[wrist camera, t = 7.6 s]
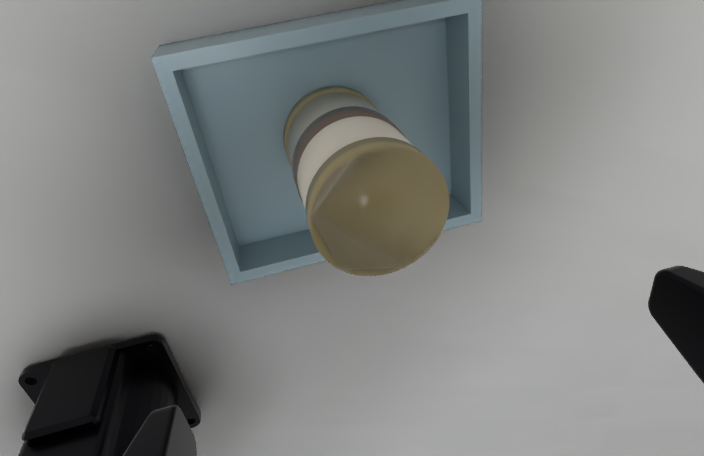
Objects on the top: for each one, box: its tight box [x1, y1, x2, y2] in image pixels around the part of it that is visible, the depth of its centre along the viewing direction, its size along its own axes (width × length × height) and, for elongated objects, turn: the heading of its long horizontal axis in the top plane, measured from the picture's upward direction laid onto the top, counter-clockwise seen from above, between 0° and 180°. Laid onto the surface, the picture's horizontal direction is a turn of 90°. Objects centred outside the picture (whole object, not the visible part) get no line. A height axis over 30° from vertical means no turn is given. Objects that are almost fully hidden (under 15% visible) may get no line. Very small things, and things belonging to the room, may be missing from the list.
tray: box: [151, 0, 482, 285], centre depth 19 cm, size 9×11×2 cm
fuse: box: [283, 86, 449, 276], centre depth 16 cm, size 4×4×7 cm
